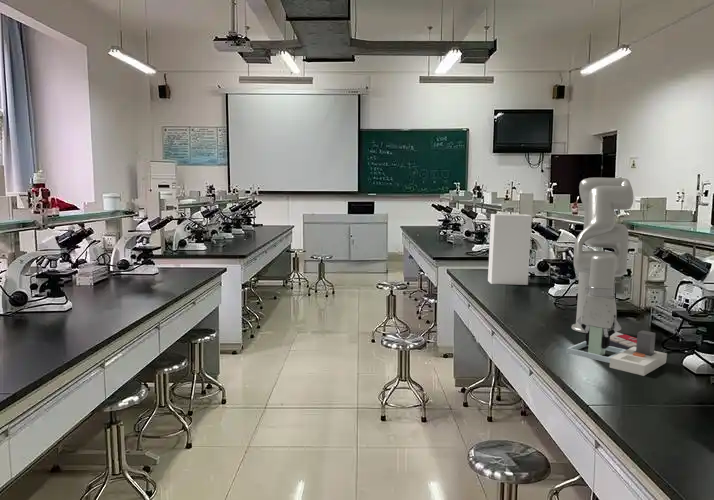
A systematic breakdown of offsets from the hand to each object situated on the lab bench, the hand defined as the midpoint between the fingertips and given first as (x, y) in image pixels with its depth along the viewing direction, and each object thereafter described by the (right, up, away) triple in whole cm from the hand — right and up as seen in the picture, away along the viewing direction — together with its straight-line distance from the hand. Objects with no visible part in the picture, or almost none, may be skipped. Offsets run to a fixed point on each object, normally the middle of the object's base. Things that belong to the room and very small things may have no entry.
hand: (597, 345), depth 186 cm
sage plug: (0, -3, 0) cm, 3 cm away
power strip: (+8, -5, -11) cm, 15 cm away
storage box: (+8, +12, +141) cm, 142 cm away
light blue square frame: (0, -4, 0) cm, 4 cm away
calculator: (+14, -3, +11) cm, 18 cm away
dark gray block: (+12, -4, -8) cm, 15 cm away
